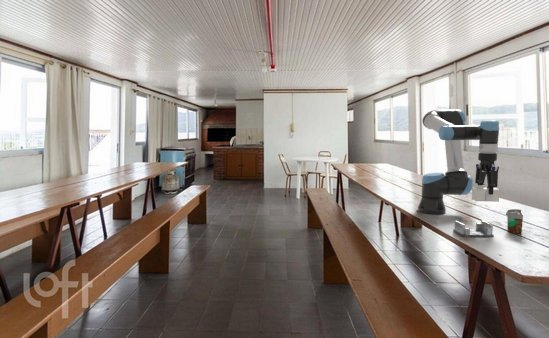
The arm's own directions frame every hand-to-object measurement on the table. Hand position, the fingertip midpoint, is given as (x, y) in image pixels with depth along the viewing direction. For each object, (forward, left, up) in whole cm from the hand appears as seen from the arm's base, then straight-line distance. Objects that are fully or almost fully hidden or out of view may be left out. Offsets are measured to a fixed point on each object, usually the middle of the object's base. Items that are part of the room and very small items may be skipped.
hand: (484, 199), depth 154 cm
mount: (-5, -11, -15) cm, 19 cm away
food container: (+12, +2, -15) cm, 19 cm away
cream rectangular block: (0, 0, 0) cm, 0 cm away
